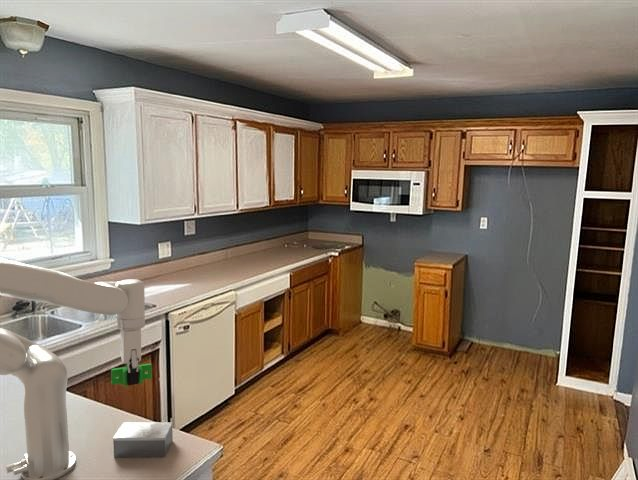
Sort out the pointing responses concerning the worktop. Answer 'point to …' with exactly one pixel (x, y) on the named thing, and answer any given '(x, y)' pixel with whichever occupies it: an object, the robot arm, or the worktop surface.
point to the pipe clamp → (123, 374)
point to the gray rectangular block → (143, 440)
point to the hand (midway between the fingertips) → (132, 380)
